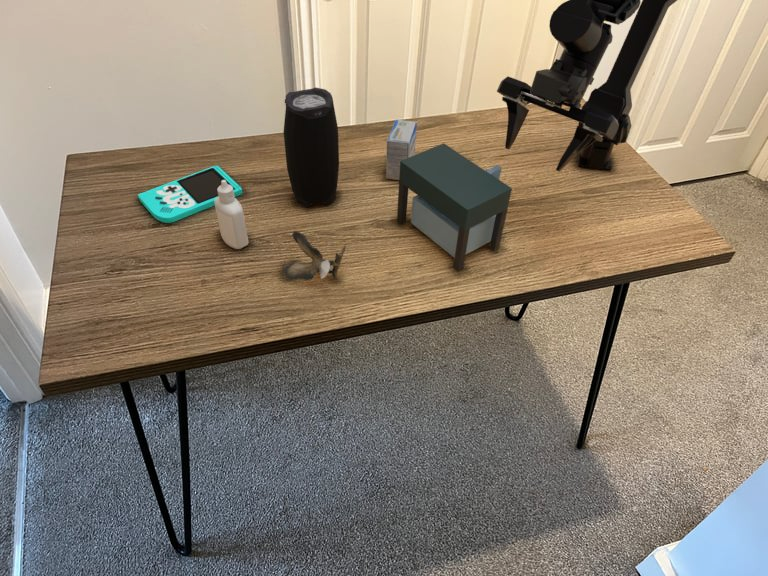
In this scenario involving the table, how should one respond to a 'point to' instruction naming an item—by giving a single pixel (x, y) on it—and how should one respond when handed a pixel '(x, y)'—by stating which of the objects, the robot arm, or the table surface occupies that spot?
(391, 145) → the medicine box
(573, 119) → the robot arm
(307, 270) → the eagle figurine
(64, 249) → the table surface
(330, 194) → the portable speaker
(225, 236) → the eye dropper bottle
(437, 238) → the drawer
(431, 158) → the cabinet
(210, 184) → the handheld game console
